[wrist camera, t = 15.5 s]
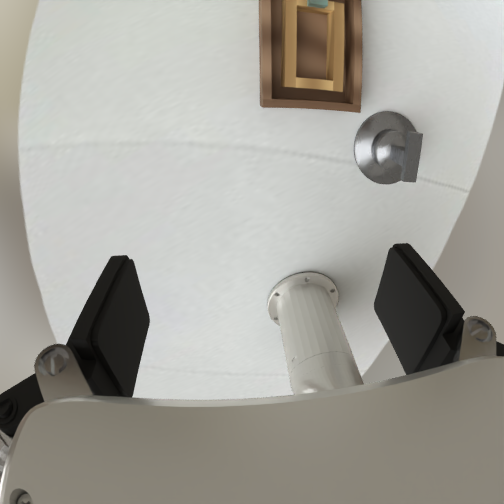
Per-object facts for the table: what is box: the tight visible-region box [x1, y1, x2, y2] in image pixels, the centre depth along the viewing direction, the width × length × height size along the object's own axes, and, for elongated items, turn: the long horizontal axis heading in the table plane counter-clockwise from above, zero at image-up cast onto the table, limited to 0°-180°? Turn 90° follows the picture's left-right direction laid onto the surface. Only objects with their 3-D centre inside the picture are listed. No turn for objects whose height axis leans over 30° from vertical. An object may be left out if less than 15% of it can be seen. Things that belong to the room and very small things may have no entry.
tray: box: [259, 0, 362, 113], centre depth 28 cm, size 17×12×4 cm
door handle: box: [354, 112, 423, 184], centre depth 35 cm, size 11×11×7 cm
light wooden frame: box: [281, 0, 344, 92], centre depth 27 cm, size 7×12×4 cm, turn 179°
